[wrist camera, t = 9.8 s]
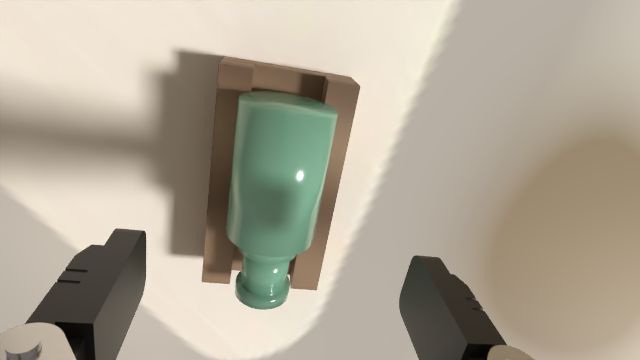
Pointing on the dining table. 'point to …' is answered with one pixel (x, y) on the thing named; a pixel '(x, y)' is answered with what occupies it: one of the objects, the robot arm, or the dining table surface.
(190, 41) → the dining table surface
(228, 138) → the bottle rest
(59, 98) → the dining table surface
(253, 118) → the bottle
